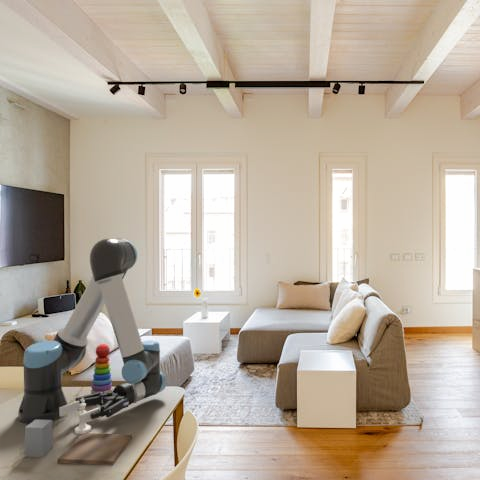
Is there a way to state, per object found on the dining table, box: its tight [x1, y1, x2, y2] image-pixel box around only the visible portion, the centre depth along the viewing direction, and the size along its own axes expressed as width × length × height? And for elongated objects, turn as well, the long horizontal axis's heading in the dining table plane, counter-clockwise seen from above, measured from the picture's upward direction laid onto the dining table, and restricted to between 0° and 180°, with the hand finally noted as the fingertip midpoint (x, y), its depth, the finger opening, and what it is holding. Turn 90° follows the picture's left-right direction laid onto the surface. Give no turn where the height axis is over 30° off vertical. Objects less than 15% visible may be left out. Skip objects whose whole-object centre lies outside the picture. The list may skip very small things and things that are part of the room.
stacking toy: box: [90, 343, 114, 394], centre depth 162 cm, size 8×8×19 cm
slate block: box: [24, 420, 54, 458], centre depth 117 cm, size 5×5×8 cm
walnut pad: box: [57, 432, 133, 466], centre depth 118 cm, size 15×15×1 cm
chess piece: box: [73, 398, 92, 435], centre depth 130 cm, size 5×5×10 cm
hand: (69, 415), depth 127 cm, fingers open, 9 cm apart
